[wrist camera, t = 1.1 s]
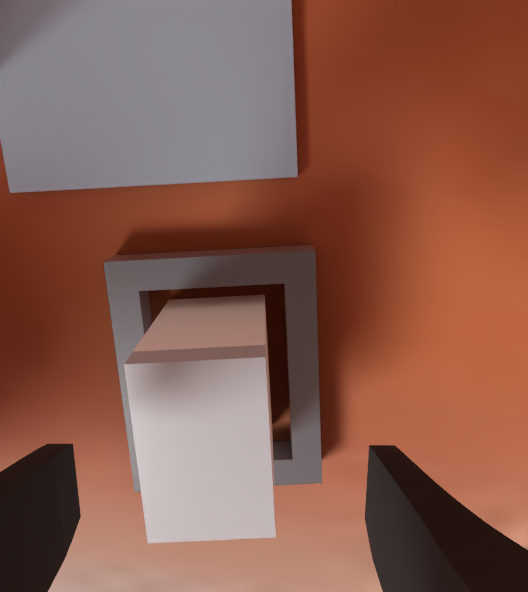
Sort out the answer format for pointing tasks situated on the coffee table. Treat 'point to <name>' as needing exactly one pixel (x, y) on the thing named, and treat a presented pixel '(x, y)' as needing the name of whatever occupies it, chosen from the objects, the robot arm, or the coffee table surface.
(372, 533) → the robot arm
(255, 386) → the plug
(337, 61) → the coffee table surface
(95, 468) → the coffee table surface
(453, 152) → the coffee table surface
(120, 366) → the holder
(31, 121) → the slate board
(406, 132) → the coffee table surface
